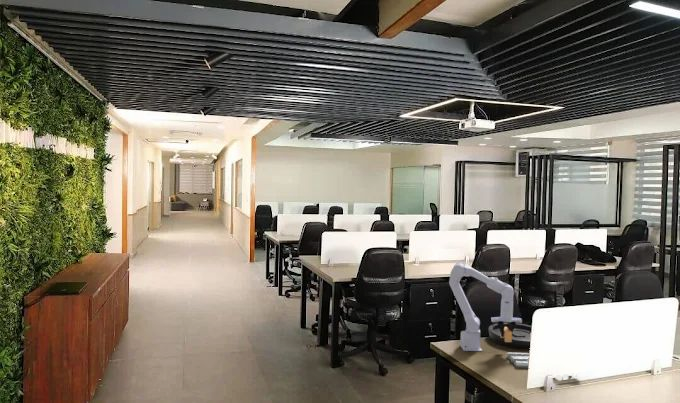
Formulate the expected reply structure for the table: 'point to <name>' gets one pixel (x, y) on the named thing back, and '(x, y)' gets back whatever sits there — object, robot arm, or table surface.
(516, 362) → the slotted rail
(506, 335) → the orange notched block
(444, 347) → the table surface
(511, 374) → the table surface
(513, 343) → the grey bolted disc
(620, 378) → the table surface
